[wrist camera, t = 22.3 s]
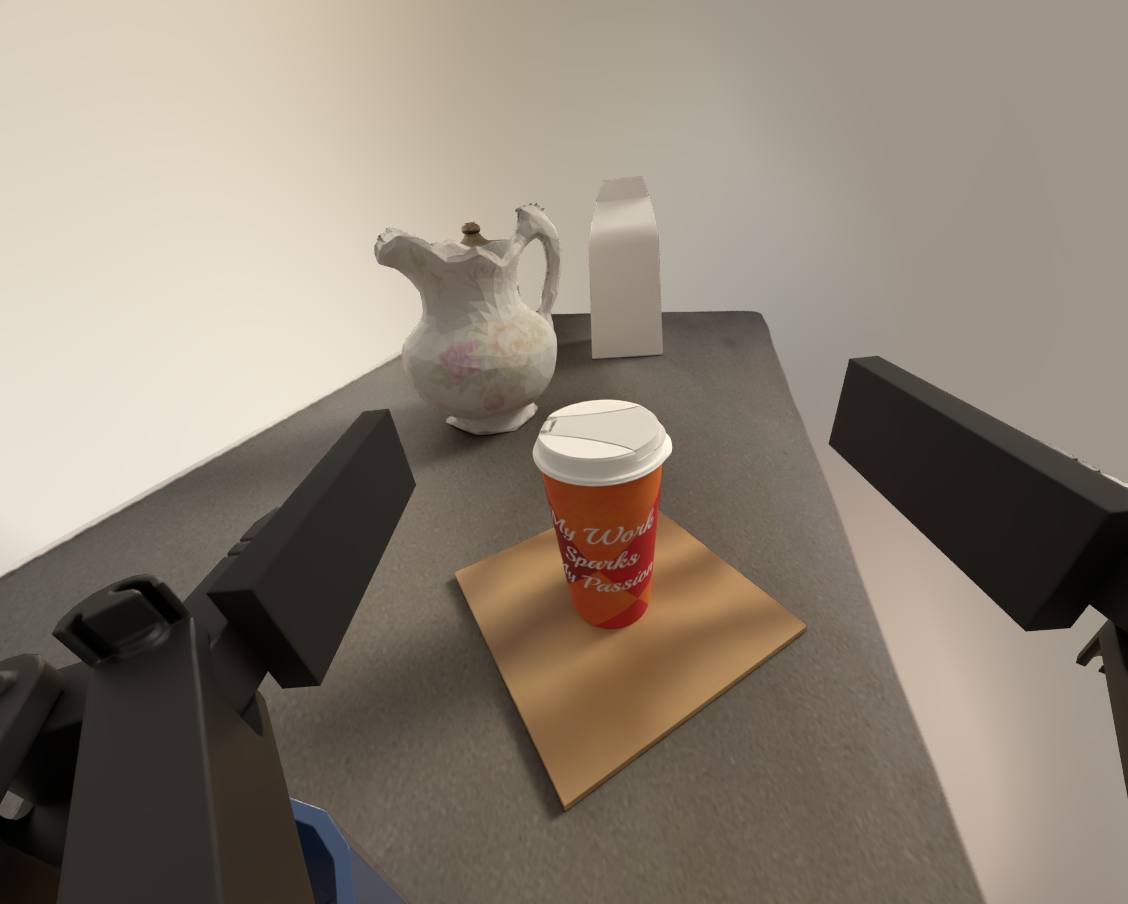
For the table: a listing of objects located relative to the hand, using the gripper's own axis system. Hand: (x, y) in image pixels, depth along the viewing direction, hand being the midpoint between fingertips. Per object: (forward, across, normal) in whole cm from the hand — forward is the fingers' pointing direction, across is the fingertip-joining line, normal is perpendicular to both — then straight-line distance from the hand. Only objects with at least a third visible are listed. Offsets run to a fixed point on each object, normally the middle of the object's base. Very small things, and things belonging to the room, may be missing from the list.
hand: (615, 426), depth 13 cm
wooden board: (+10, 0, -20) cm, 22 cm away
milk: (+66, +9, -20) cm, 70 cm away
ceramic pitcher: (+43, -12, -20) cm, 49 cm away
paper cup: (+10, 0, -19) cm, 22 cm away
